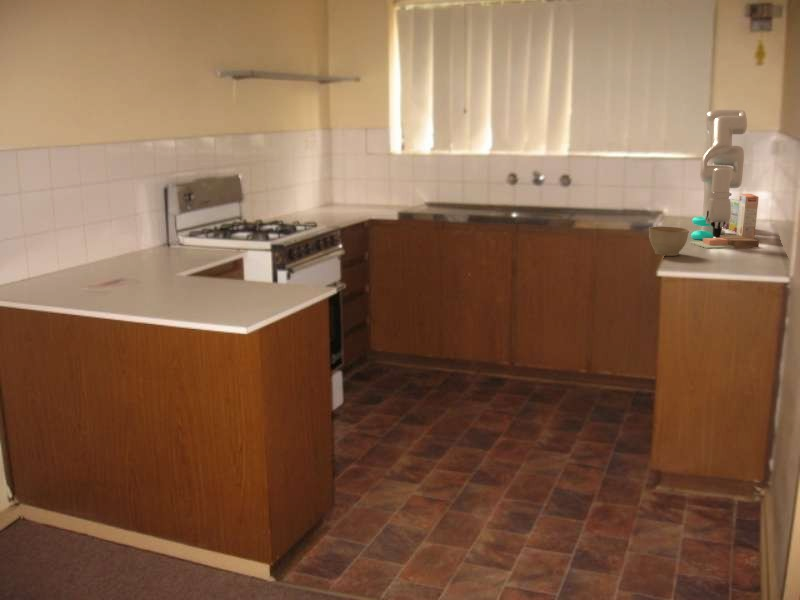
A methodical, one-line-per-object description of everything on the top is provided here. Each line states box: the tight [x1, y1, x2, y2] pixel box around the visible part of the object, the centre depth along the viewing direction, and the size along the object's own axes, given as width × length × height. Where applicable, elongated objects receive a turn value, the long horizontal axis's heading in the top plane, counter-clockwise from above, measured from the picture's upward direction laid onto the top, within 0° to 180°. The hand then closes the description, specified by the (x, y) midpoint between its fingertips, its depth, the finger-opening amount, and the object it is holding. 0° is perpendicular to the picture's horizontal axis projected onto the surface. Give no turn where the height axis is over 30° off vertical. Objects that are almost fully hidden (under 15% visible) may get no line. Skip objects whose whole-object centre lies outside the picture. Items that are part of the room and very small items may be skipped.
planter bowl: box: [648, 226, 690, 257], centre depth 353 cm, size 16×16×11 cm
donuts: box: [690, 216, 714, 241], centre depth 395 cm, size 10×10×10 cm
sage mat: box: [689, 240, 736, 250], centre depth 377 cm, size 16×13×1 cm
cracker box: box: [735, 193, 760, 240], centre depth 392 cm, size 14×6×21 cm, turn 168°
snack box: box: [722, 198, 740, 233], centre depth 421 cm, size 21×6×15 cm, turn 5°
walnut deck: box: [715, 234, 760, 249], centre depth 378 cm, size 17×11×3 cm, turn 9°
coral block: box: [702, 237, 729, 245], centre depth 377 cm, size 6×9×2 cm, turn 99°
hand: (716, 236), depth 376 cm, fingers closed
